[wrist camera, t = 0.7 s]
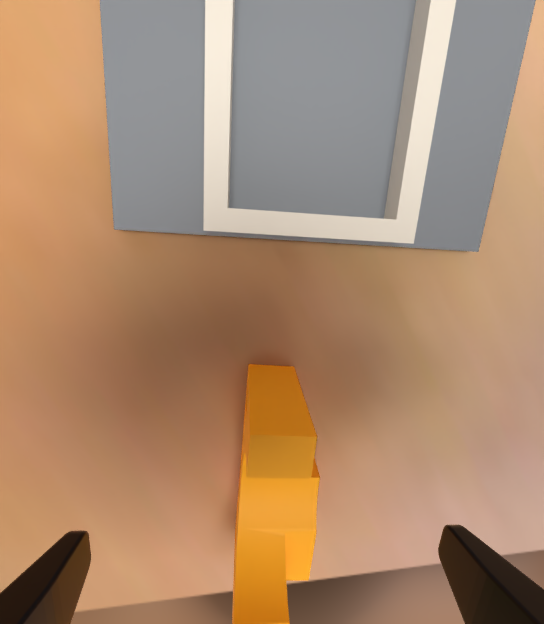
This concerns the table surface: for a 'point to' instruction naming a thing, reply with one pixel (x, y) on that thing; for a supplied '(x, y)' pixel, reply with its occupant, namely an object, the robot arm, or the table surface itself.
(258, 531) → the pipe clamp
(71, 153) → the table surface
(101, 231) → the table surface
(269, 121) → the jig board
